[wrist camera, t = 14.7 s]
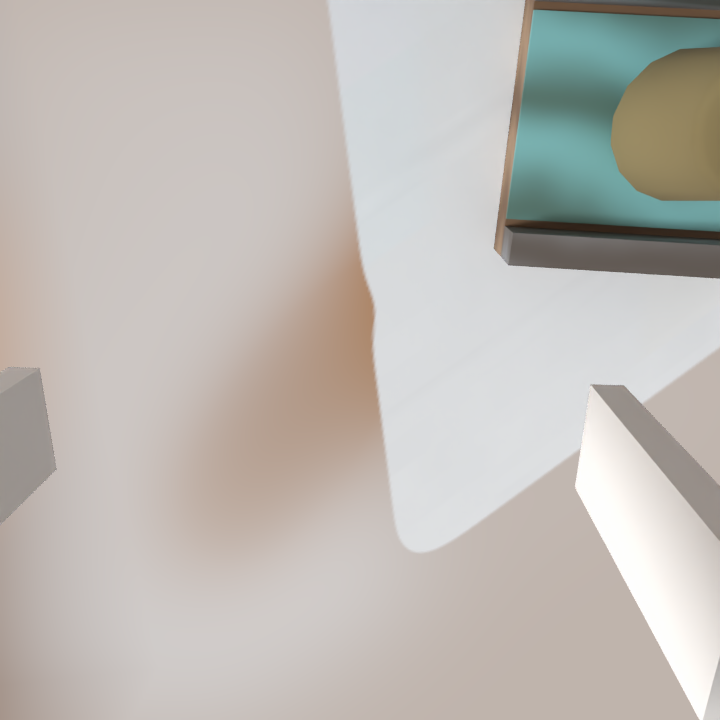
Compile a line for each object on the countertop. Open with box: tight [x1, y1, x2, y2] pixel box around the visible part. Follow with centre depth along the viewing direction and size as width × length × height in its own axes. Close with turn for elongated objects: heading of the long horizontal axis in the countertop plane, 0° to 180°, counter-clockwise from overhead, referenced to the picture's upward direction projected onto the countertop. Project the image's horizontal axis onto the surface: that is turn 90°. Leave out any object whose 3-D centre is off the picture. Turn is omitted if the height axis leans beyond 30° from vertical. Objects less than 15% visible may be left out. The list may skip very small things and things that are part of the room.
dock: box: [494, 0, 720, 278], centre depth 38 cm, size 17×17×6 cm
